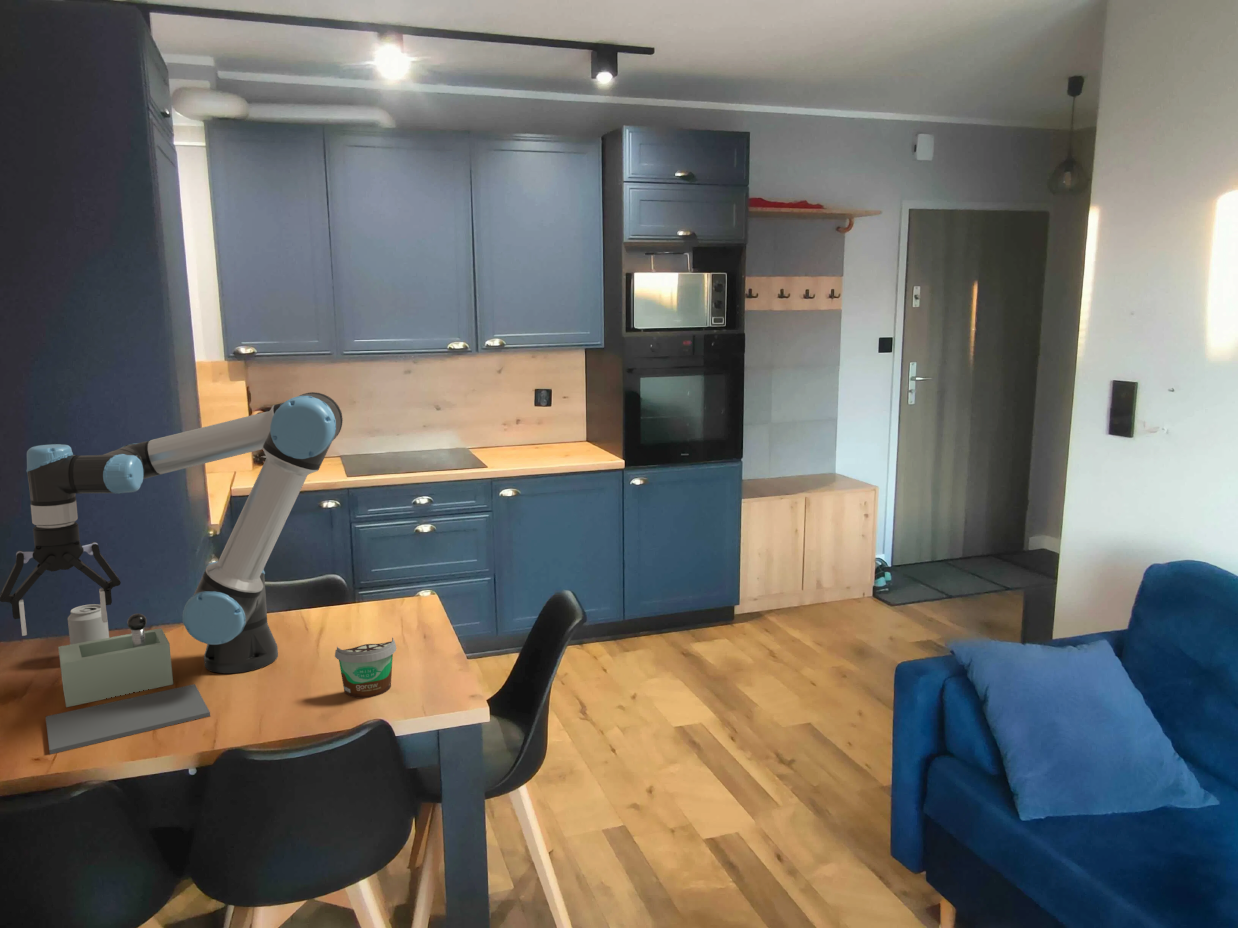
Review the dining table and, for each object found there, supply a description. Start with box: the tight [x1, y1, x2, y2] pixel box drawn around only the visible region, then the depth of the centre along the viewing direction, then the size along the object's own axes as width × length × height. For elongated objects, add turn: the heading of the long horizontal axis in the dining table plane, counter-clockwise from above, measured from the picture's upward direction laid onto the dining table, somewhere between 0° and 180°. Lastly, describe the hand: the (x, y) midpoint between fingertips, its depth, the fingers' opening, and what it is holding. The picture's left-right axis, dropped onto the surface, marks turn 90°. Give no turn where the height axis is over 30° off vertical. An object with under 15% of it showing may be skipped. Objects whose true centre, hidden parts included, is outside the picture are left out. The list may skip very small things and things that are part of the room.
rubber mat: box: [45, 683, 211, 755], centre depth 167 cm, size 26×16×1 cm, turn 125°
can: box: [67, 603, 110, 645], centre depth 195 cm, size 8×8×12 cm
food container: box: [334, 636, 397, 699], centre depth 178 cm, size 12×6×10 cm, turn 117°
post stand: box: [126, 613, 148, 648], centre depth 183 cm, size 5×5×15 cm
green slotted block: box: [57, 627, 174, 708], centre depth 181 cm, size 19×11×9 cm, turn 125°
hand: (65, 627), depth 175 cm, fingers open, 13 cm apart
